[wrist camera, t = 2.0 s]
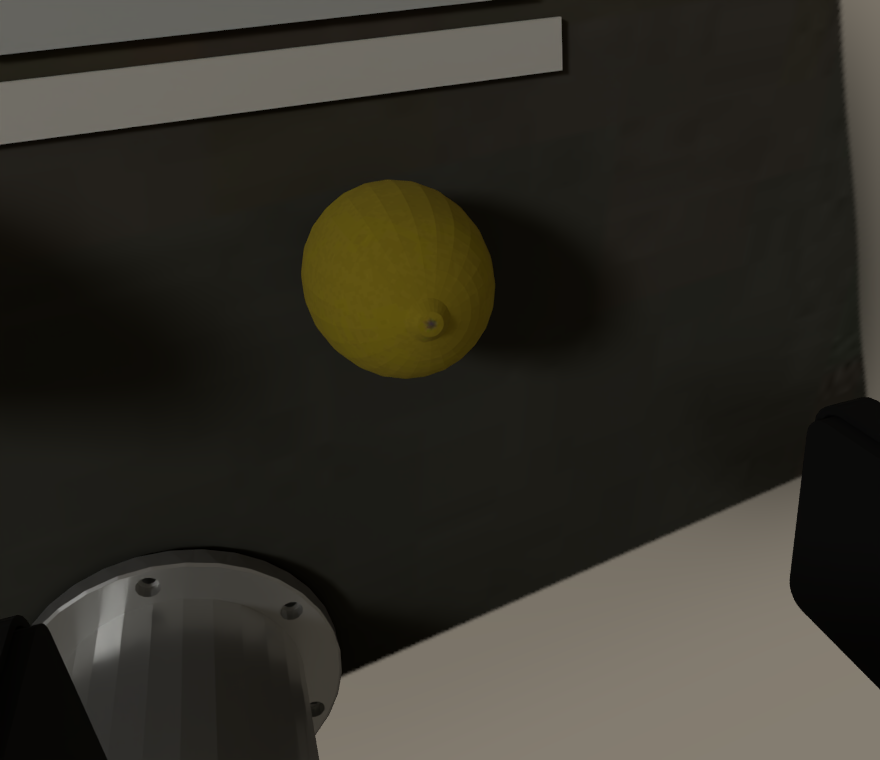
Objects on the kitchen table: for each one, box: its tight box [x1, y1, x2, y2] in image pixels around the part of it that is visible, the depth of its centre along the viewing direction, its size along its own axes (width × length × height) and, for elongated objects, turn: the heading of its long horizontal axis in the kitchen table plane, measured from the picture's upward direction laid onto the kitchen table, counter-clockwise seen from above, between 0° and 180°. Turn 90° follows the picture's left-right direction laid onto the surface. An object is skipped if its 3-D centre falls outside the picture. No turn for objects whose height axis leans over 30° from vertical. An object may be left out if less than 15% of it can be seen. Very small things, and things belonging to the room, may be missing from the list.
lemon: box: [301, 180, 495, 379], centre depth 24 cm, size 6×6×8 cm
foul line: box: [0, 17, 562, 145], centre depth 24 cm, size 2×18×1 cm, turn 95°
